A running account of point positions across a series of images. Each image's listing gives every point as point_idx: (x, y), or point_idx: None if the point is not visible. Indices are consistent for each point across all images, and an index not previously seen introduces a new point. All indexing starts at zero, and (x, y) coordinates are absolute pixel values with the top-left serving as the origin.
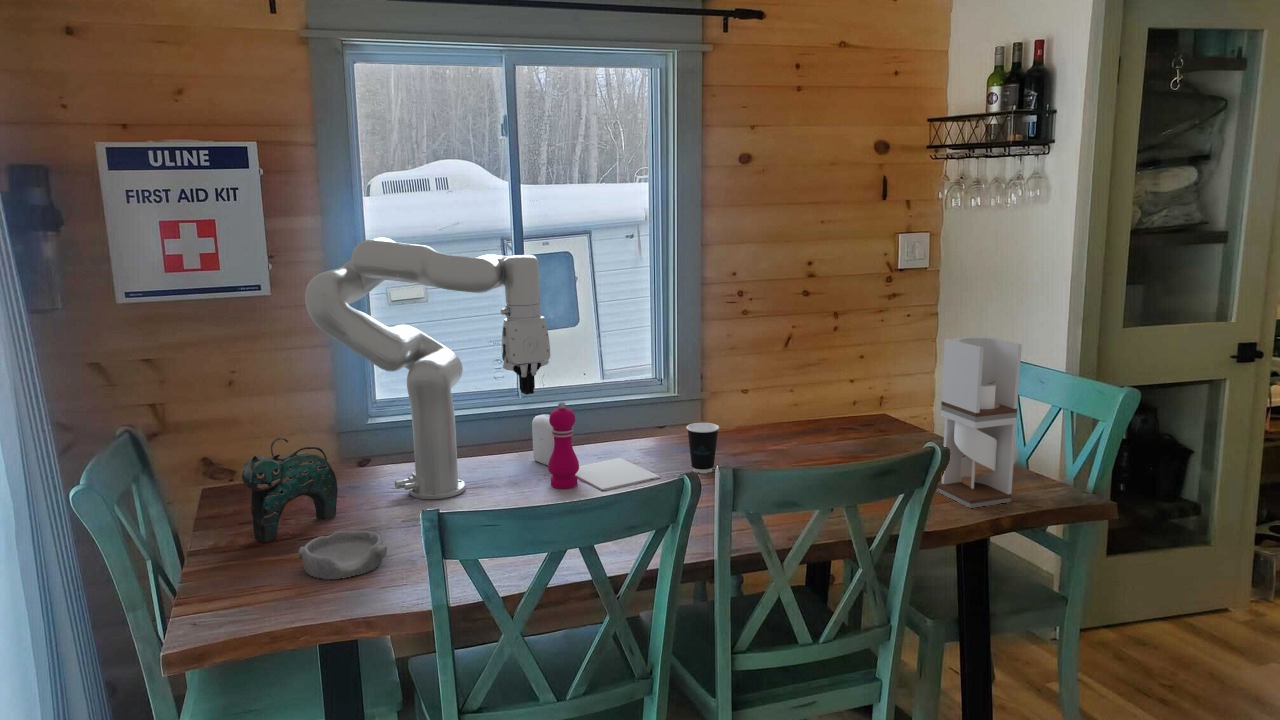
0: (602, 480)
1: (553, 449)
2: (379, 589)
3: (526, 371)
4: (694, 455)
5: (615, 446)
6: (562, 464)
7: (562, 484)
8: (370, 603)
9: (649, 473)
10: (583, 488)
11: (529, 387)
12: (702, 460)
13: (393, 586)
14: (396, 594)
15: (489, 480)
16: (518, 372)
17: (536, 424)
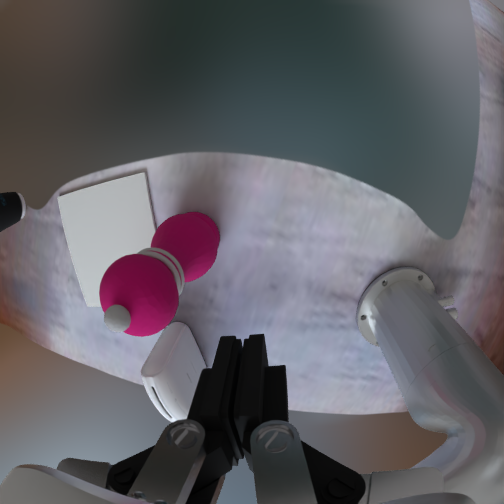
0: (130, 216)
1: (177, 343)
2: (499, 38)
3: (224, 476)
4: (8, 204)
5: (90, 354)
6: (190, 223)
7: (203, 216)
8: (500, 23)
9: (64, 216)
10: (169, 201)
11: (243, 360)
12: (8, 194)
13: (490, 33)
14: (486, 18)
15: (308, 320)
16: (323, 460)
17: (188, 405)
